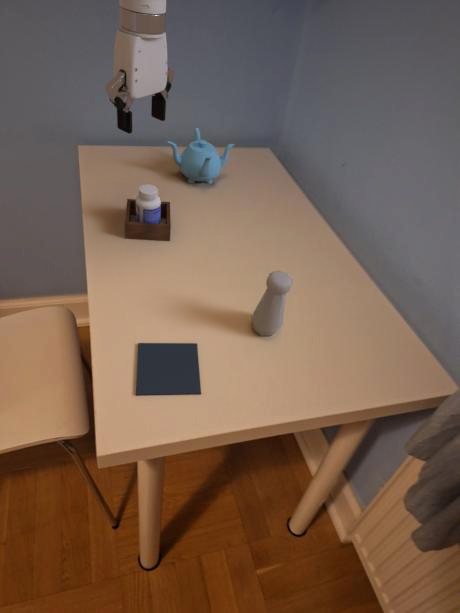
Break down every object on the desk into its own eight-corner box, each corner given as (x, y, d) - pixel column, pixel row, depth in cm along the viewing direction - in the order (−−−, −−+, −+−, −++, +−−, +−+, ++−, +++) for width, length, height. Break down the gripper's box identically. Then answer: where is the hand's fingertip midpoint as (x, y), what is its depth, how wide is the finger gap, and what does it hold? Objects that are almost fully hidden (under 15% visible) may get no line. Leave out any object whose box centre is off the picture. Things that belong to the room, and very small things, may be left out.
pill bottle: (164, 225, 93) (166, 188, 87) (151, 237, 90) (152, 198, 83) (144, 217, 95) (144, 179, 88) (131, 228, 91) (130, 189, 84)
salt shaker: (272, 315, 79) (290, 264, 70) (284, 337, 75) (304, 286, 66) (245, 319, 77) (259, 267, 68) (255, 342, 73) (272, 290, 64)
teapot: (230, 178, 114) (236, 143, 107) (203, 195, 105) (208, 158, 98) (193, 161, 118) (197, 126, 111) (164, 176, 109) (166, 139, 102)
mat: (135, 395, 62) (135, 394, 62) (138, 344, 69) (138, 342, 68) (200, 394, 64) (201, 393, 64) (196, 344, 71) (197, 343, 70)
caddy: (125, 238, 88) (124, 223, 85) (127, 213, 94) (127, 198, 92) (169, 241, 90) (170, 226, 87) (169, 216, 96) (170, 201, 94)
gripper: (158, 12, 75) (156, 108, 87) (87, 19, 63) (95, 128, 76) (191, 23, 73) (183, 120, 85) (123, 33, 61) (125, 143, 73)
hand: (142, 124), depth 80 cm, fingers open, 9 cm apart
